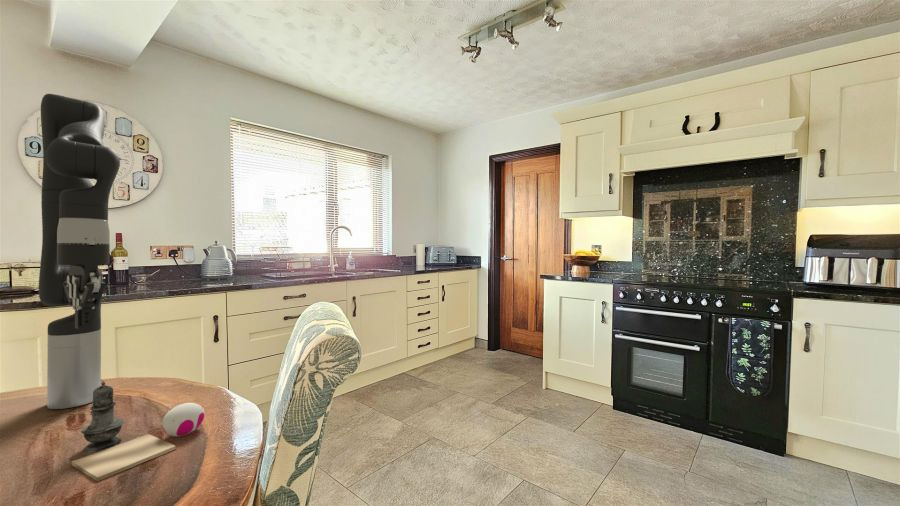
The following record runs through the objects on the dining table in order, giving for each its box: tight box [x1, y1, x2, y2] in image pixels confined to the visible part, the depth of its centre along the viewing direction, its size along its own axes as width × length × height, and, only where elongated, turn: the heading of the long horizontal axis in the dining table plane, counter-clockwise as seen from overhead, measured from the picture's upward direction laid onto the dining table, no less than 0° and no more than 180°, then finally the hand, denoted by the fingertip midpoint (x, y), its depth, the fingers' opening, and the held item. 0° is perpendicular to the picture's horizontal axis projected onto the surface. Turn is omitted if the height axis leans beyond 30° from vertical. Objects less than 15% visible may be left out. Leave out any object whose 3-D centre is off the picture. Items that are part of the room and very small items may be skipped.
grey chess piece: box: [80, 381, 125, 453], centre depth 70 cm, size 6×6×12 cm
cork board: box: [71, 433, 177, 482], centre depth 65 cm, size 10×11×1 cm
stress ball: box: [161, 402, 206, 437], centre depth 74 cm, size 8×8×7 cm
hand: (83, 328), depth 74 cm, fingers closed
